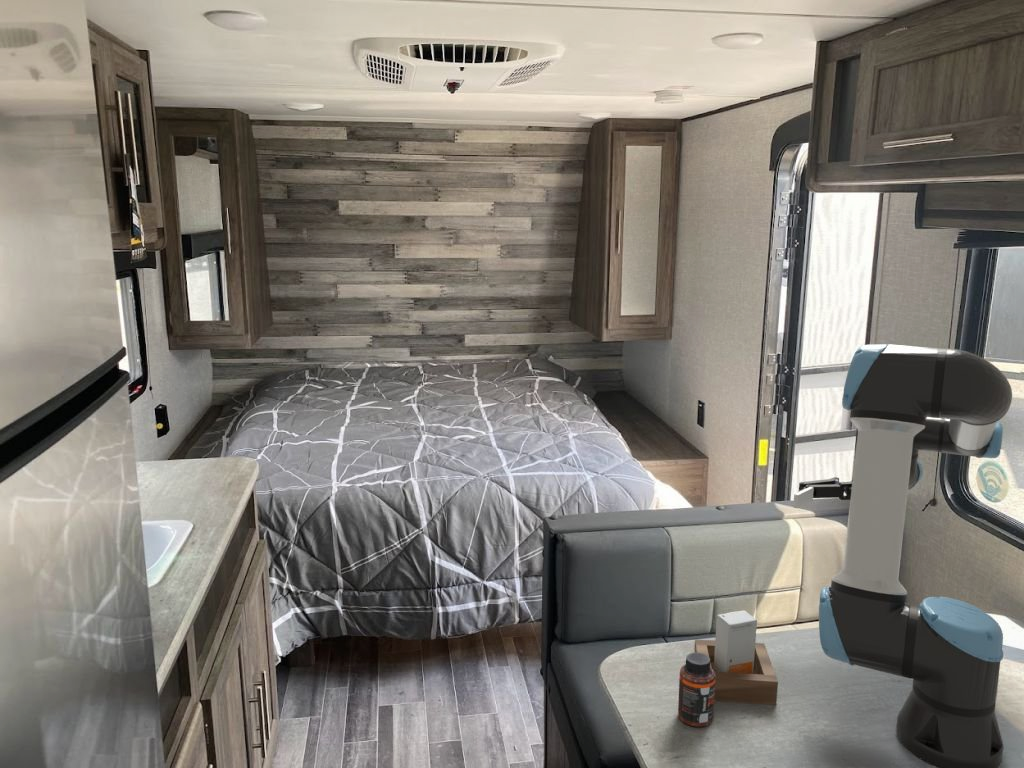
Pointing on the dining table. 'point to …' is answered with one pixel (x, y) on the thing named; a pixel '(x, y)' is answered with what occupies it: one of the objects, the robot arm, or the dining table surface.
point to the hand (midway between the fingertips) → (829, 510)
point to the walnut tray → (743, 678)
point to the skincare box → (735, 642)
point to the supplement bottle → (696, 691)
